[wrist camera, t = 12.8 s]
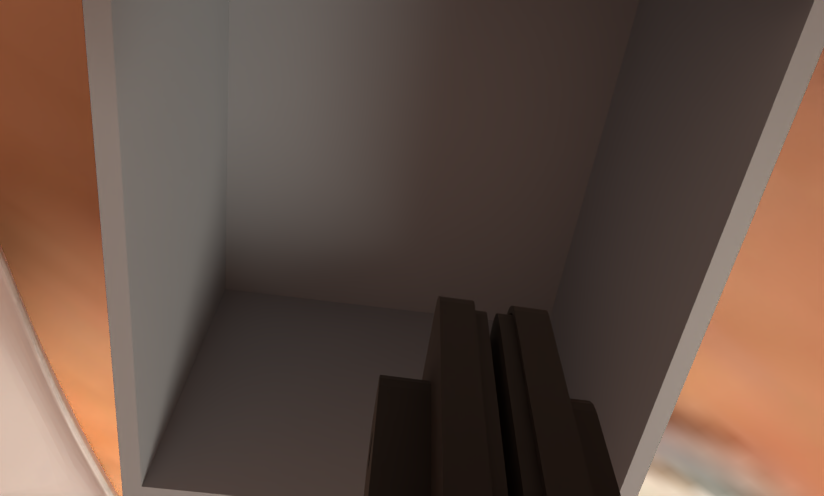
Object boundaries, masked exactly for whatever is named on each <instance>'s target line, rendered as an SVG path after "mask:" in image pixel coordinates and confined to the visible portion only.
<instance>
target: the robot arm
mask: <svg viewBox="0 0 824 496" xmlns="http://www.w3.org/2000/svg"><path fill="white" fill-rule="evenodd" d="M364 496H621V494H620V490H619V487H618V484H617V480H616V477H615V473H614V470H613V466H612V463H611V459H610V456H609V453H608V449H607V446H606V442H605V439H604V435H603V432H602V428H601V425H600V422H599V418H598V415H597V411H596V409H595V407H594V404H593V403H591V402H590V401H587V400H579V399H571V398H570V397H569V393H568V389H567V385H566V381H565V377H564V373H563V369H562V365H561V361H560V357H559V353H558V349H557V345H556V341H555V337H554V333H553V329H552V325H551V321H550V317H549V314H548V311H546V310H542V309H534V308H527V307H519V306H511V307H510V308H509V310H508V312H507V314H500V313H497V314H496V315H495V317H494V320H493V324H492V329H491V333H490V334H489V325H488V317H487V312H485V311H477V310H475V303H474V301H473V300H465V299H458V298H450V297H442V296H439V297H438V299H437V302H436V307H435V312H434V318H433V323H432V329H431V334H430V339H429V345H428V350H427V355H426V361H425V366H424V372H423V377H422V380H419V379H411V378H403V377H395V376H387V375H380V376H379V381H378V387H377V393H376V400H375V407H374V414H373V421H372V428H371V436H370V444H369V452H368V460H367V469H366V479H365V488H364Z"/></svg>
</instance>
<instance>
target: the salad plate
mask: <svg viewBox="0 0 824 496" xmlns="http://www.w3.org/2000/svg"><path fill="white" fill-rule="evenodd" d="M0 496H118V494H117V492H116V491H115V489H114V487H113V485H112V484H111V482H110V480H109V478H108V477H107V475H106V473H105V471H104V470H103V468H102V466H101V464H100V462H99V461H98V459H97V457H96V455H95V453H94V452H93V450H92V448H91V446H90V444H89V442H88V440H87V438H86V436H85V434H84V432H83V430H82V428H81V427H80V425H79V423H78V421H77V419H76V417H75V415H74V413H73V410H72V408H71V406H70V404H69V402H68V400H67V398H66V396H65V394H64V392H63V390H62V388H61V386H60V384H59V382H58V380H57V378H56V376H55V373H54V371H53V369H52V367H51V365H50V363H49V361H48V359H47V356H46V354H45V352H44V350H43V347H42V345H41V343H40V341H39V338H38V336H37V334H36V332H35V329H34V327H33V324H32V322H31V320H30V317H29V315H28V312H27V310H26V307H25V305H24V303H23V300H22V298H21V295H20V293H19V290H18V288H17V285H16V283H15V280H14V278H13V275H12V272H11V270H10V267H9V265H8V262H7V259H6V257H5V254H4V252H3V249H2V247H1V245H0Z"/></svg>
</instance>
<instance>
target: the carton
mask: <svg viewBox="0 0 824 496" xmlns="http://www.w3.org/2000/svg"><path fill="white" fill-rule="evenodd" d="M82 4H83V16H84V28H85V40H86V53H87V65H88V77H89V89H90V101H91V113H92V126H93V138H94V150H95V162H96V174H97V187H98V199H99V211H100V223H101V235H102V247H103V260H104V272H105V284H106V296H107V308H108V320H109V333H110V345H111V357H112V369H113V381H114V393H115V406H116V418H117V430H118V442H119V454H120V466H121V479H122V491H123V496H364V488H365V479H366V469H367V460H368V452H369V444H370V436H371V428H372V421H373V414H374V407H375V400H376V393H377V387H378V381H379V376H380V375H387V376H395V377H403V378H411V379H419V380H422V377H423V372H424V366H425V361H426V355H427V350H428V345H429V339H430V334H431V329H432V323H433V318H434V312H435V307H436V302H437V299H438V297H439V296H442V297H450V298H458V299H465V300H473V301H474V303H475V310H477V311H485V312H487V317H488V325H489V334H490V333H491V329H492V324H493V320H494V317H495V315H496V314H497V313H500V314H507V312H508V310H509V308H510V307H511V306H519V307H527V308H534V309H542V310H546V311H548V314H549V317H550V321H551V325H552V329H553V333H554V337H555V341H556V345H557V349H558V353H559V357H560V361H561V365H562V369H563V373H564V377H565V381H566V385H567V389H568V393H569V397H570V398H571V399H579V400H587V401H590V402H591V403H593V404H594V407H595V409H596V411H597V415H598V418H599V422H600V425H601V428H602V432H603V435H604V439H605V442H606V446H607V449H608V453H609V456H610V459H611V463H612V466H613V470H614V473H615V477H616V480H617V484H618V487H619V490H620V494H621V496H638V494H639V491H640V489H641V486H642V484H643V482H644V479H645V477H646V474H647V472H648V470H649V467H650V465H651V462H652V460H653V458H654V455H655V453H656V450H657V448H658V445H659V443H660V441H661V438H662V436H663V433H664V431H665V429H666V426H667V424H668V421H669V419H670V417H671V414H672V412H673V409H674V407H675V405H676V402H677V400H678V397H679V395H680V392H681V390H682V388H683V385H684V383H685V380H686V378H687V376H688V373H689V371H690V368H691V366H692V364H693V361H694V359H695V356H696V354H697V351H698V349H699V347H700V344H701V342H702V339H703V337H704V335H705V332H706V330H707V327H708V325H709V323H710V320H711V318H712V315H713V313H714V311H715V308H716V306H717V303H718V301H719V298H720V296H721V294H722V291H723V289H724V286H725V284H726V282H727V279H728V277H729V274H730V272H731V270H732V267H733V265H734V262H735V260H736V257H737V255H738V253H739V250H740V248H741V245H742V243H743V241H744V238H745V236H746V233H747V231H748V229H749V226H750V224H751V221H752V219H753V217H754V214H755V212H756V209H757V207H758V204H759V202H760V200H761V197H762V195H763V192H764V190H765V188H766V185H767V183H768V180H769V178H770V176H771V173H772V171H773V168H774V166H775V164H776V161H777V159H778V156H779V154H780V151H781V149H782V147H783V144H784V142H785V139H786V137H787V135H788V132H789V130H790V127H791V125H792V123H793V120H794V118H795V115H796V113H797V110H798V108H799V106H800V103H801V101H802V98H803V96H804V94H805V91H806V89H807V86H808V84H809V82H810V79H811V77H812V74H813V72H814V70H815V67H816V65H817V62H818V60H819V57H820V55H821V53H822V50H823V48H824V0H82Z"/></svg>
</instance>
